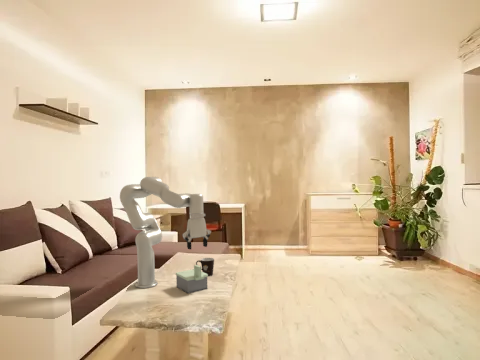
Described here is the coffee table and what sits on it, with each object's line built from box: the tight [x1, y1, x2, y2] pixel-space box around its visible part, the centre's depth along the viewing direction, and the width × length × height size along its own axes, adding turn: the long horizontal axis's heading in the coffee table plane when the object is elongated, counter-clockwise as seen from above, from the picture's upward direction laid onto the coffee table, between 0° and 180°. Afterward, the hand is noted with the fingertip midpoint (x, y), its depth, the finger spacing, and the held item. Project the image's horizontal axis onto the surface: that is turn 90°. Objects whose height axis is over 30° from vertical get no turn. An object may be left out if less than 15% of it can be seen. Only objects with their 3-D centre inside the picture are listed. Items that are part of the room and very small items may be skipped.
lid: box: [175, 264, 209, 281], centre depth 184 cm, size 17×13×8 cm
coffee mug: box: [195, 257, 215, 277], centre depth 211 cm, size 12×9×10 cm
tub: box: [175, 274, 208, 295], centre depth 185 cm, size 14×12×7 cm
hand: (197, 247), depth 179 cm, fingers open, 9 cm apart
